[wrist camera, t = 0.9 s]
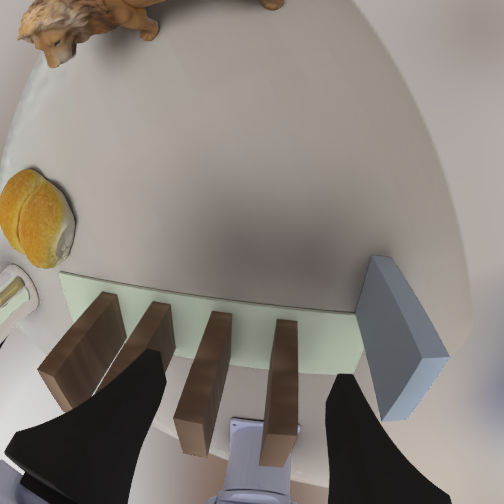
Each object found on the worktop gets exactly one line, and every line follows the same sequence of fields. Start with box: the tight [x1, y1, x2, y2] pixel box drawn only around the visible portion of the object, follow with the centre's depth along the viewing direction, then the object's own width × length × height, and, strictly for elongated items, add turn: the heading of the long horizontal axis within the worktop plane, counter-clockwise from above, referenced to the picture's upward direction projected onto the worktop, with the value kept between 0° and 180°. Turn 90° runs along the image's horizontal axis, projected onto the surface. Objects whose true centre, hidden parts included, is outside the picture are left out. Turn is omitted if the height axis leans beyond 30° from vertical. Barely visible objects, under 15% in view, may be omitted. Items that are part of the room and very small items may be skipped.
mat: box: [59, 271, 364, 375], centre depth 24 cm, size 7×28×1 cm, turn 86°
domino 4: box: [259, 319, 298, 468], centre depth 18 cm, size 2×5×10 cm, turn 176°
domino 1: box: [37, 291, 127, 412], centre depth 19 cm, size 2×5×10 cm, turn 176°
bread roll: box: [0, 169, 75, 269], centre depth 19 cm, size 8×9×4 cm
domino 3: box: [173, 311, 232, 458], centre depth 19 cm, size 2×5×10 cm, turn 176°
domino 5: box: [355, 255, 450, 421], centre depth 16 cm, size 2×5×10 cm, turn 176°
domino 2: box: [95, 301, 176, 394], centre depth 19 cm, size 2×5×10 cm, turn 176°
